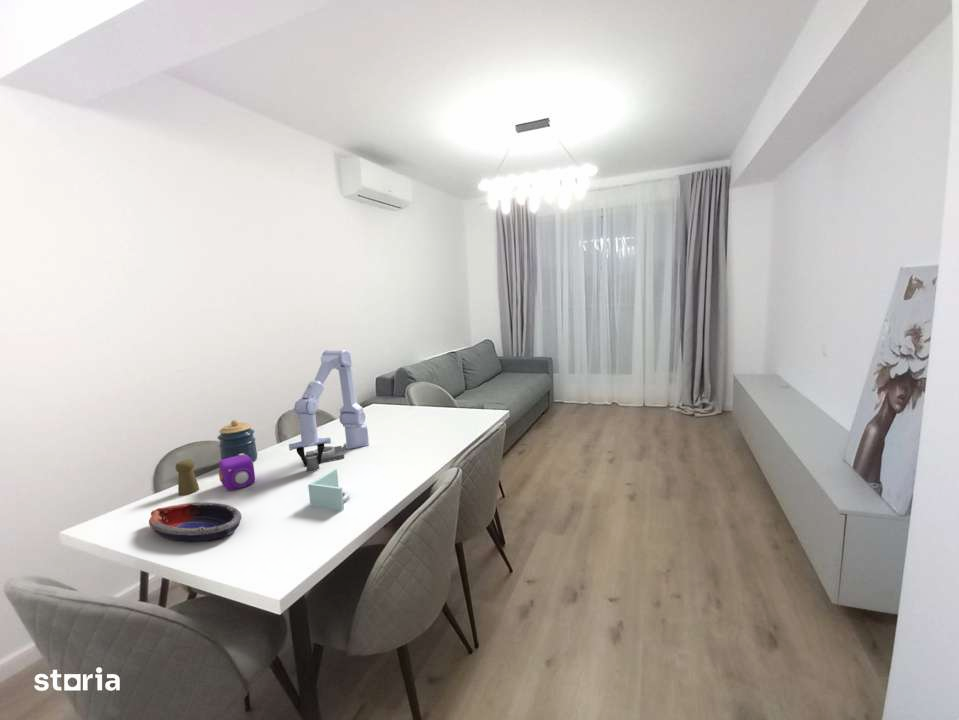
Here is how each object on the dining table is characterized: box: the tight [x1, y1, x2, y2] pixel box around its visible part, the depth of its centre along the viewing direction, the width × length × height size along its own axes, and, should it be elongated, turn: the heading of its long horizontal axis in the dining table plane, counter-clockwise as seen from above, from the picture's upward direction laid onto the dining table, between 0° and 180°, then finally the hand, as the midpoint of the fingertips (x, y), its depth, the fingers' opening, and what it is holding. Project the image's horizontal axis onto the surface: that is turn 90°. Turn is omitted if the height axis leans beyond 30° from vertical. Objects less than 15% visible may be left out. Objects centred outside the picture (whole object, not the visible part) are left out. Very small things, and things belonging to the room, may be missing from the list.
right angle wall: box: [307, 468, 351, 511], centre depth 131 cm, size 12×12×8 cm
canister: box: [217, 419, 258, 463], centre depth 167 cm, size 13×13×18 cm
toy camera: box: [218, 453, 256, 491], centre depth 144 cm, size 11×14×10 cm
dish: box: [148, 501, 243, 542], centre depth 117 cm, size 16×31×5 cm, turn 70°
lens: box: [305, 452, 320, 472], centre depth 156 cm, size 4×4×6 cm
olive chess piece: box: [175, 459, 200, 497], centre depth 142 cm, size 6×6×11 cm
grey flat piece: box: [305, 445, 345, 463], centre depth 169 cm, size 14×12×3 cm
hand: (312, 464), depth 156 cm, fingers closed on lens, 4 cm apart
